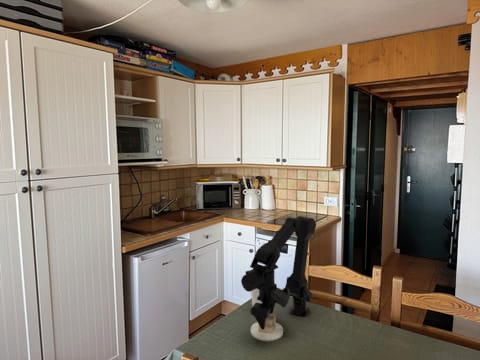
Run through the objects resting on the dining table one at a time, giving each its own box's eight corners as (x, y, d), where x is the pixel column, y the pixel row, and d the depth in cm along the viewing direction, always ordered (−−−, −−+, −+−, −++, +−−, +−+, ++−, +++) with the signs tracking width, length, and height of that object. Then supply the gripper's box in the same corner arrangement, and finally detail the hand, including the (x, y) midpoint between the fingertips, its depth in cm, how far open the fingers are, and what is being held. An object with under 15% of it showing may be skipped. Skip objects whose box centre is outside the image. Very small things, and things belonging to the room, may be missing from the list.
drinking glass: (265, 315, 138) (265, 279, 136) (249, 313, 139) (249, 278, 137) (267, 307, 144) (267, 273, 142) (252, 305, 146) (251, 272, 144)
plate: (256, 320, 133) (256, 318, 133) (286, 326, 129) (286, 324, 129) (245, 337, 122) (245, 334, 122) (277, 344, 118) (277, 341, 118)
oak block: (262, 324, 129) (262, 312, 128) (275, 327, 127) (275, 314, 126) (258, 331, 124) (258, 318, 124) (271, 334, 122) (271, 321, 122)
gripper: (281, 297, 112) (281, 341, 114) (294, 275, 129) (294, 314, 131) (249, 291, 116) (250, 334, 118) (266, 272, 133) (266, 309, 135)
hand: (266, 322), depth 125 cm, fingers open, 9 cm apart
